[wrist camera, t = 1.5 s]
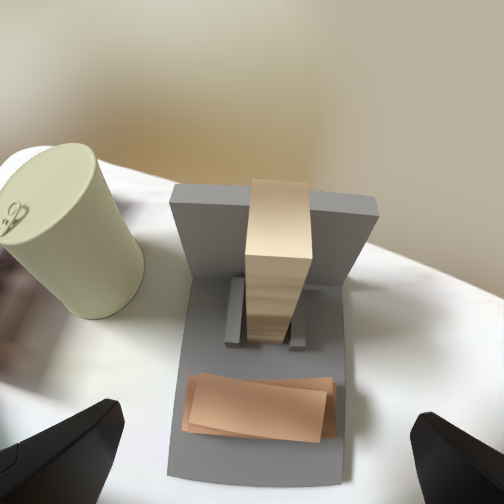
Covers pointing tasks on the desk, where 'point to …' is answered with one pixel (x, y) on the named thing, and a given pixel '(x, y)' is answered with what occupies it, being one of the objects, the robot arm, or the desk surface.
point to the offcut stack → (261, 408)
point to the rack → (259, 354)
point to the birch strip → (276, 256)
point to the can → (71, 231)
